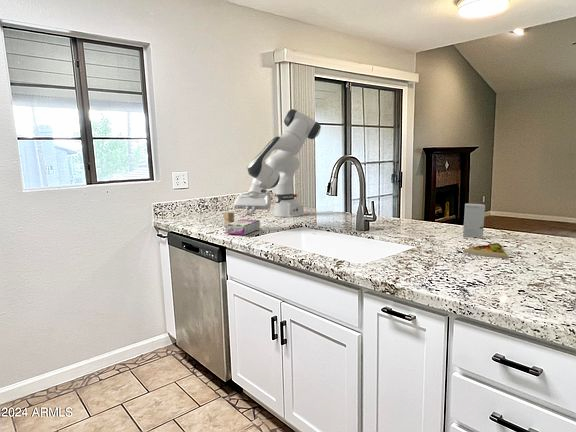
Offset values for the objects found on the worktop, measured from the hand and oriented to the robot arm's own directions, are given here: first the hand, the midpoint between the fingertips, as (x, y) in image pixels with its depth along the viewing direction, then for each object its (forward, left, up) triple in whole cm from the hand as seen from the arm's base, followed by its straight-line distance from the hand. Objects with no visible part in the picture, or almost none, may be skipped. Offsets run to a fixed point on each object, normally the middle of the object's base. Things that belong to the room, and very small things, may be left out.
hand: (248, 214), depth 203 cm
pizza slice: (-49, +102, -9) cm, 114 cm away
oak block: (+3, -17, -8) cm, 19 cm away
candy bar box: (-2, -1, -6) cm, 6 cm away
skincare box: (-68, +84, -9) cm, 109 cm away
